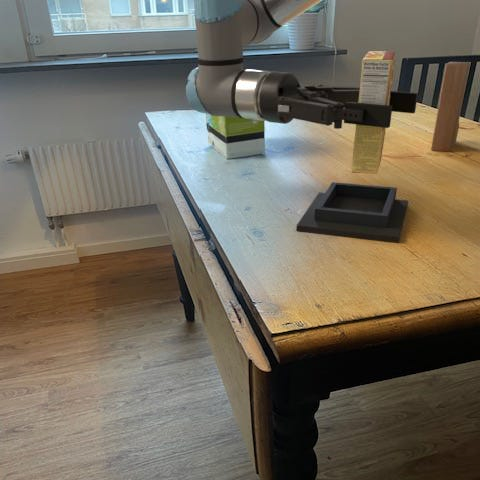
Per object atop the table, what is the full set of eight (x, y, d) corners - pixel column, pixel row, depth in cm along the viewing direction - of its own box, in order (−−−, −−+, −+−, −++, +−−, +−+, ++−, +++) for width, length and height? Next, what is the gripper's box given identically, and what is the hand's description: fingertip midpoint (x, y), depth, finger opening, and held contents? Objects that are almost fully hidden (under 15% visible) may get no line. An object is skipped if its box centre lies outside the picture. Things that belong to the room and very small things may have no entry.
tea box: (206, 144, 127) (201, 80, 119) (243, 139, 130) (241, 77, 122) (226, 160, 115) (222, 90, 107) (266, 154, 118) (266, 86, 110)
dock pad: (407, 205, 89) (410, 188, 87) (398, 243, 76) (401, 224, 75) (319, 196, 94) (319, 181, 92) (296, 231, 81) (296, 213, 79)
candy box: (356, 156, 82) (366, 50, 73) (382, 157, 81) (396, 50, 72) (350, 173, 75) (360, 58, 66) (379, 175, 74) (394, 58, 65)
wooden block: (436, 140, 123) (451, 58, 113) (455, 142, 121) (472, 59, 111) (430, 150, 116) (445, 64, 106) (450, 152, 114) (468, 64, 104)
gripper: (301, 108, 91) (424, 121, 80) (230, 136, 77) (369, 156, 66) (303, 62, 87) (433, 69, 76) (228, 82, 72) (376, 94, 61)
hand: (403, 109), depth 71 cm, fingers closed on candy box, 9 cm apart
